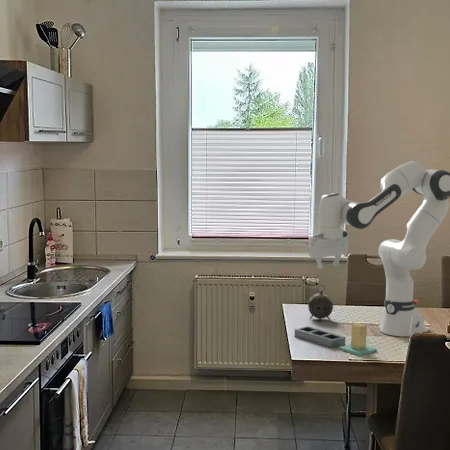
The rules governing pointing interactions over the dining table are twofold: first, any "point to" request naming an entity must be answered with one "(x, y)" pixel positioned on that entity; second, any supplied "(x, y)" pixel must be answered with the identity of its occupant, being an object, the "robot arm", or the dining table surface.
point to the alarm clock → (320, 305)
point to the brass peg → (358, 336)
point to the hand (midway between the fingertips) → (328, 267)
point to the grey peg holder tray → (320, 337)
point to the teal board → (358, 352)
